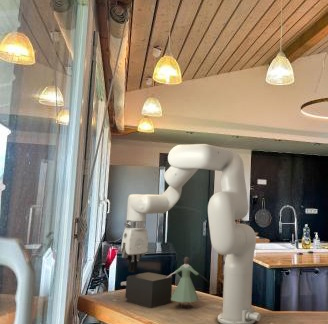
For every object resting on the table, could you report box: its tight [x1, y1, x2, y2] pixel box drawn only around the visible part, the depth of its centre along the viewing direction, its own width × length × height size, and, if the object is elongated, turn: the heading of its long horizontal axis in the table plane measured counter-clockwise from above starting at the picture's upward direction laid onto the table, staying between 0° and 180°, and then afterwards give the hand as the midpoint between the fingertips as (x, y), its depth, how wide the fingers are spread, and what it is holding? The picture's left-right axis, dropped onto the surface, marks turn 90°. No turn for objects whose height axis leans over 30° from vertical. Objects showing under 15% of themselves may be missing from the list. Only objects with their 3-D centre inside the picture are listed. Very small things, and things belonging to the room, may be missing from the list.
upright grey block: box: [126, 271, 173, 309], centre depth 145 cm, size 13×10×9 cm
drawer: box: [120, 276, 128, 299], centre depth 148 cm, size 17×9×8 cm, turn 57°
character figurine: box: [167, 256, 210, 309], centre depth 141 cm, size 16×8×18 cm, turn 91°
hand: (132, 271), depth 151 cm, fingers closed
